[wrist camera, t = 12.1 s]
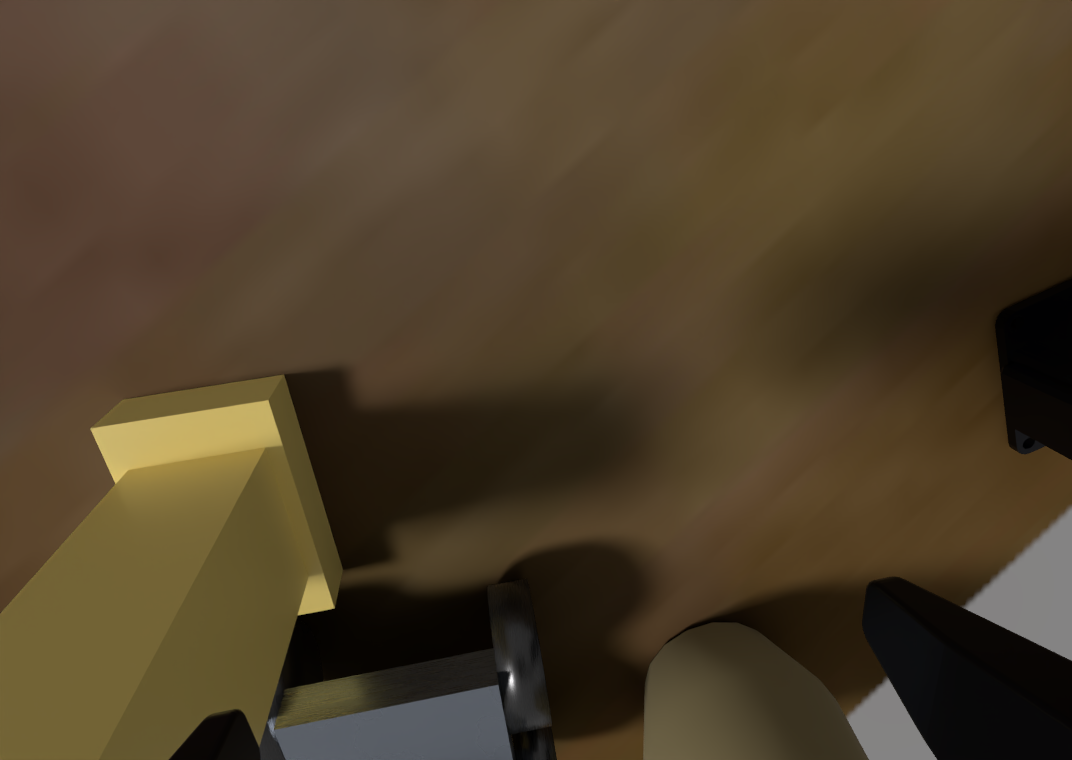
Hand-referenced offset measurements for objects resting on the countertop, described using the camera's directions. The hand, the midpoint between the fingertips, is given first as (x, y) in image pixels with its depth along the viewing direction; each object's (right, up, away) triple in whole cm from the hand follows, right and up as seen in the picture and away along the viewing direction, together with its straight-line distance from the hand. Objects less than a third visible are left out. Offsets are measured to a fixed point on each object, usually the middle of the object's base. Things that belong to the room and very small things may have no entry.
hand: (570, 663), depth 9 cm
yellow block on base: (-11, 0, +13) cm, 17 cm away
